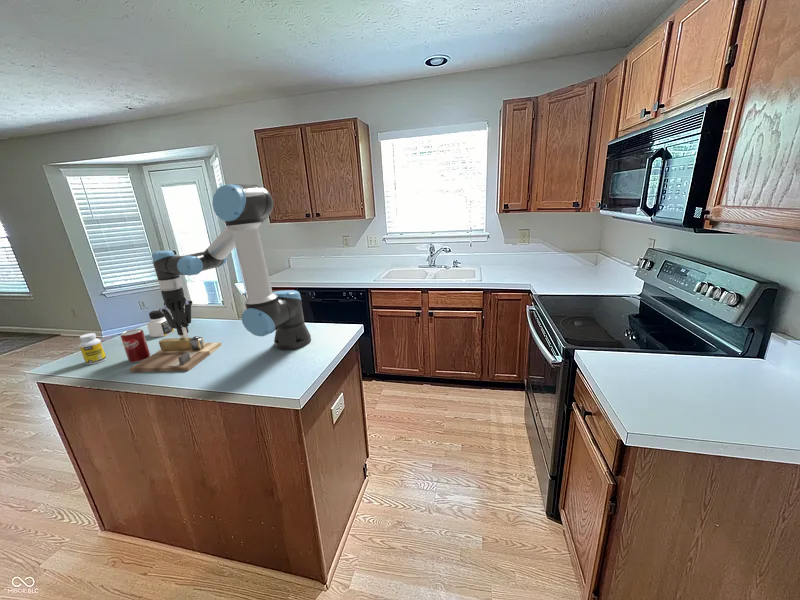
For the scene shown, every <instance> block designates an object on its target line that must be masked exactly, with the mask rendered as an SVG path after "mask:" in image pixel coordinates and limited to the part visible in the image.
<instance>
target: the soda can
mask: <svg viewBox="0 0 800 600" xmlns="http://www.w3.org/2000/svg"><path fill="white" fill-rule="evenodd" d="M120 339H121V342H122V345H123V349H124V351H125V354H126V357H127V361H128V362H130V363H131V364H132V363H134V364H135V363H140V362H141V361H143V360H145V359H146V358H148V357H150V356H151V352H150V349H149V345H148V343H147V340H146V337H145V332H144V330H143V329H142V328H135V329H130V330H126V331H124V332H121V334H120Z"/></svg>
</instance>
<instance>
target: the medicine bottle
mask: <svg viewBox="0 0 800 600" xmlns="http://www.w3.org/2000/svg"><path fill="white" fill-rule="evenodd" d="M148 316H149V319H150V321H149V322H147V323H146V325H147V329H148V330H147V331H148V332H149V335H150V338H156V337H157V338H160V337H161V338H163V337H166V336H168V335H169V334H171V333H173V332H175V329H174V328H171V327H170V325H169V324H168V322H167V320H166V318H165V317H164V315H163V314H162V313H161V312H160V311H159V309H156V310H152V311H150V312H149V313H148Z"/></svg>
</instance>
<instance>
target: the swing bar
mask: <svg viewBox="0 0 800 600" xmlns="http://www.w3.org/2000/svg"><path fill="white" fill-rule="evenodd" d="M204 343H205V342H204V338H203V337H202V336H193V337H188V338H181V337H174V338H173V337H172V338H169V337H168V338H162V339H160V340H159V341H158V344H159V347H160V348H159V349H160V350H191V349H192V350H198V349H201V348H203V347H204V346H205V345H204Z"/></svg>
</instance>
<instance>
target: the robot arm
mask: <svg viewBox="0 0 800 600" xmlns="http://www.w3.org/2000/svg"><path fill="white" fill-rule="evenodd" d="M212 208H213V211H214V214H215V215H216V216H217V217H218V219H220V220H222V221H224V224H225V228H224V229H223V230H222V231H221V232H220V233H219V234H218V236H217V237H216V238H215V239H214V240H213V242H211V244H210V245H209V246H208V247H207V248H206V249H205V250H204V251H200V252H196V253H190V254H186V255H175V253H174V251H173V250H168V249H167V250H158V251H154V252H152V253H151V259H152V264H153V268H154V273H155V274H156V278H157V281H158V284H159V289H160V290H161V291H160V293H161V296H162V300H163V307H161V308H159V309H158V310H159V311H160V312H161V313H162V314H163V315H164V317H165V318H166V320H167V322H168V324H169V325H170V327H171V328H174V330H176V332H177V335H178V336H180V337H179V338H189V335H188V333H189V328H188V327H189V325H190V324H191V323H192V305H193V301H192V300H189V299H187V298H186V297H185V292H184V289H183V284H182V280H181V278H180V276H195V275H199V274H200V273H202V272H204V271H207V270H213V269H217V268H220V267H222V266H224V265H225V264H226V263H227V257H228V255H230V253H232V252H233V250H234V249H235V248H236V253H237V257H238V262H239V265H240V269H241V272H242V277H243V282H244V286H245V290H246V294H247V298H246V299H245V301H244V305H245V308H246V309H245V310H244V311H243V312H242V314H241V323H242V324H243V326H244V328H245V329H246V330H247V331H248V332H249V333H251V334H252V335H253V336H255V337H264V336H265V337H266V336H268V335H270V334H273V333H274V332H275V333H274V337H273V338H274V340H273V344H274V347H275V349H277V350H282V351H283V350H284V351H287V350H289V351H290V350H295V349H300V348H302V347H305V346H306V345H308V344H309V343H310V342H311V341H312V336H311V333H310V331H309V329H308V328H307V325H306V324H305V318H304V311H303V304H302V297H301V293H300V292H299V291H298V290H294V289H293V290H292V289H291V290H289V289H288V290H287V289H285V290H276V291H275V290H274V291H273V289H272V284H271V280H270V276H269V271H268V266H267V262H266V259H265V257H266V256H265V253H264V248H263V244H262V239H261V235H260V230H259V227H260V226H261V225H262V224H263V223H264V222H265V221H266V220H267V219H268V218H269V217H270V215H271V214H272V212H273V209H274V199H273V197H272V194H271V193H270V192H269V191H268V190H267V189H266V188H265V187H263V186H261V185H257V184H237V183H231V184H223V185H221V186H219V187H218V188H217V189H216V190H215V193H214V194H213V197H212Z"/></svg>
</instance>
